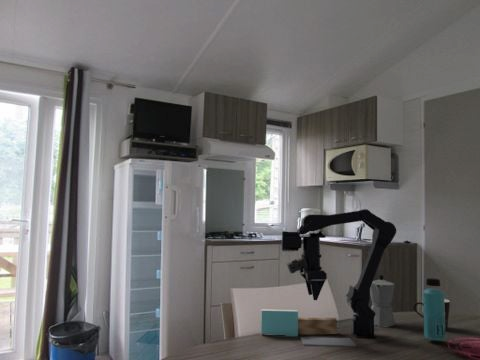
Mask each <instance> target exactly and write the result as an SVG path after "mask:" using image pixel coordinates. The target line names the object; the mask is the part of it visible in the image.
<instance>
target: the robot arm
mask: <svg viewBox="0 0 480 360" xmlns="http://www.w3.org/2000/svg"><path fill="white" fill-rule="evenodd" d="M357 222H362V223H364V224H365V225H366V226H367V227H368V228H370V229H371V230H373V231H372V235H371V237H372V240H371V246H370V248H369V252H368V255H367V257H366V259H365V262H364V265H363V267H362V271H361V273H360V276H359V278H358V281H357V282H356V284H355V285H354V286H352V285H349V288H348V292H347V293H346V294H345V297H346V303H347V306H348V307H349V308H350V309H351V310H352V312H353V314H352V319H351V321H350V322H351V325H350V327H351V328H350V329H351V333H352V334H353V335H354V336H355V337H356V338H373V339H374V338H377V335H376V334H375V326H374V317H375V314H376V313H375V312H374V311H373V310H372V309H371V306H369V304H370V299H371V295H370V287H371V285H372V282H373V281H374V280H375V276H376V274H377V272H378V271H377V270H378V269H379V266H380V263H381V261H382V258H383V255H384V254H385V253H384V252H385V250H386V249H387V248H388V246H390V244H391V242H392V241H393V240H394V238H395V236H396V234H397V228H396V225H395V224H394V223H393V222H391V221H385V220H384V219H382V218H381V217H379V216H378V215H376V214H374V213H373V212H371V211H370V210H369V209H365V208H364V209H360V210H355V211H347V212H341V213H340V212H339V213H334V214H307V215H305V216H303V218H302V220H301V226H300V227H299V228H297V229H298V230H297V231H285V230H284V231H282V232H281V241H280V242H281V252H299V249H302V252H303V253H301V257H300V258H297V259H294V260H291V261H289V262H287V263H286V265H287V270H288V272H289V273H290V274H295V273H296V272H298V273H300V275H301V277H303V279H304V281H305V284H306V289H307V293H308V295H309V296H312V298H313V299H312V300H313V301H318V298H319V296H320V294H321V291H322V289H323V287H324V285H325V282H326V280H327V277H328V275H327V274H328V273H326V272H325V270H323V267H322V266H321V258H322V254H321V245H320V244H321V243H320V242H321V239H323V238H324V239H325V238H327V237H326V235H325V234H324V233H323V232H322V231H321V230H322V229H325V228H327V227H330V226H335V225H342V224H343V225H344V224H349V223H357ZM316 231H317V232H316ZM306 234H308V235H306Z"/></svg>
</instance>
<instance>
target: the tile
mask: <svg viewBox="0 0 480 360" xmlns="http://www.w3.org/2000/svg"><path fill="white" fill-rule="evenodd" d="M260 311H261V312H260V335H261V334H273V335H286V336H285V337H298V336H299V334H298V317H299V311H298V309H267V308H265V309H264V308H263V309H260Z"/></svg>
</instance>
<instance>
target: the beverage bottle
mask: <svg viewBox="0 0 480 360" xmlns="http://www.w3.org/2000/svg"><path fill="white" fill-rule="evenodd" d="M425 285H426V286H429V287H428V288H426V289H424V290H423V292H422V297H423V302H422V303H423V304H424V306H423V314H422V316H424V318H423V335H424V338H426V339H429V340H433V341H445V340H446V338H447V335H446V331H447V330H446V325H445V304H444V299H445V292H444V291H443V290H441V289H439V288H430V286H431V287H440V286H441V280H440V279H439V278H434V277H433V278H432V277H431V278H430V277H428V278H426V282H425Z"/></svg>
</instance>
